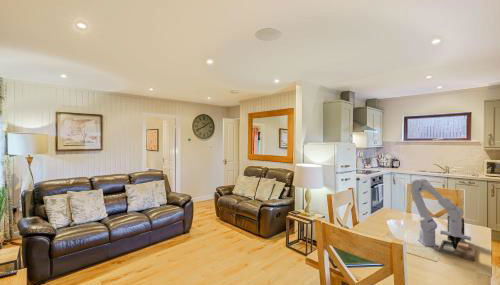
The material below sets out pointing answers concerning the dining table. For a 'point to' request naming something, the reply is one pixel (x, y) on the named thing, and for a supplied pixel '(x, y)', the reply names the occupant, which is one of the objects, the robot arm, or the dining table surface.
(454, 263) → the dining table surface
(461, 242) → the coffee box
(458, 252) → the walnut ledge
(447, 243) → the tray
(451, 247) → the cream tile
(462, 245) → the terracotta tile
